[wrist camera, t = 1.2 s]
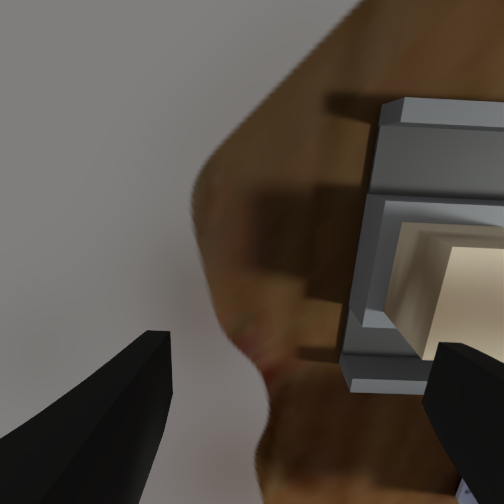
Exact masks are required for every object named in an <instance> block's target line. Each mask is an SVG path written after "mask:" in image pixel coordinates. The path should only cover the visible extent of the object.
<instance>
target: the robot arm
mask: <svg viewBox="0 0 504 504" xmlns="http://www.w3.org/2000/svg"><path fill="white" fill-rule="evenodd" d="M172 395H173V388H172V363H171V338H170V331H150V330H147V331H146V332H144V333H143V334H142V335H140V336H139V337H138V338H137V339H135V340H134V341H133V342H132V343H131V344H129V345H128V346H127V347H126V348H125V349H123V350H122V351H121V352H120V353H118V354H117V355H116V356H115V357H113V358H112V359H111V360H110V361H108V362H107V363H106V364H105V365H103V366H102V367H101V368H100V369H98V370H97V371H96V372H94V373H93V374H92V375H91V376H89V377H88V378H87V379H86V380H84V381H83V382H81V383H80V384H79V385H77V386H76V387H74V388H73V389H72V390H70V391H69V392H68V393H66V394H65V395H63V396H62V397H61V398H59V399H58V400H57V401H55V402H54V403H52V404H51V405H50V406H48V407H47V408H45V409H44V410H43V411H41V412H40V413H38V414H37V415H36V416H34V417H33V418H31V419H30V420H28V421H27V422H25V423H24V424H22V425H21V426H19V427H18V428H16V429H15V430H13V431H12V432H10V433H9V434H7V435H5V436H4V437H2V438H0V504H139V501H140V498H141V495H142V492H143V489H144V487H145V484H146V481H147V478H148V476H149V473H150V470H151V467H152V464H153V461H154V459H155V456H156V453H157V450H158V447H159V444H160V441H161V439H162V436H163V432H164V429H165V424H166V420H167V416H168V412H169V408H170V404H171V399H172ZM422 404H423V406H424V409H425V411H426V413H427V415H428V418H429V420H430V422H431V424H432V426H433V428H434V430H435V432H436V435H437V437H438V439H439V441H440V442H441V444H442V446H443V447H444V449H445V451H446V453H447V454H448V456H449V457H450V459H451V461H452V462H453V464H454V466H455V467H456V469H457V470H458V472H459V474H460V475H461V477H462V480H461V482H460V485H459V488H458V490H457V493H456V496H455V498H456V499H457V501H458V503H459V504H504V363H503V362H501V361H499V360H497V359H495V358H493V357H491V356H489V355H487V354H485V353H483V352H481V351H479V350H477V349H475V348H472V347H470V346H468V345H466V344H463V343H456V342H439V343H438V346H437V350H436V353H435V357H434V360H433V364H432V367H431V371H430V374H429V378H428V381H427V385H426V388H425V392H424V395H423V399H422Z"/></svg>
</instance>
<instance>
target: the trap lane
mask: <svg viewBox="0 0 504 504" xmlns="http://www.w3.org/2000/svg"><path fill="white" fill-rule="evenodd" d="M402 222H412V223H434V224H456V225H478V226H500V227H504V102H487V101H468V100H449V99H431V98H412V97H404V98H401V99H398V100H395V101H392V102H389V103H385V104H382V106H381V112H380V118H379V124H378V130H377V136H376V142H375V148H374V154H373V160H372V167H371V173H370V179H369V185H368V191H367V197H366V203H365V209H364V215H363V221H362V227H361V233H360V239H359V245H358V251H357V257H356V263H355V269H354V275H353V281H352V287H351V293H350V300H349V306H348V312H347V318H346V324H345V330H344V336H343V342H342V348H341V354H340V360H339V366H340V369H341V371H342V374H343V376H344V379H345V381H346V384H347V386H348V388H349V391H350V392H357V393H386V394H415V395H424V392H425V388H426V385H427V381H428V378H429V374H430V371H431V367H432V364H433V360H422V359H421V358H420V357H419V355H418V354H417V353H416V352H415V350H414V349H413V348H412V347H411V345H410V344H409V343H408V342H407V341H406V339H405V338H404V337H403V336H402V334H401V333H400V332H399V331H398V329H397V328H396V327H395V326H394V324H393V323H392V322H391V321H390V320H389V318H388V317H387V316H386V315H385V313H384V312H383V311H384V306H385V302H386V297H387V292H388V287H389V282H390V278H391V273H392V268H393V263H394V258H395V253H396V249H397V244H398V239H399V234H400V229H401V225H402Z"/></svg>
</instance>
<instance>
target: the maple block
mask: <svg viewBox="0 0 504 504" xmlns="http://www.w3.org/2000/svg"><path fill="white" fill-rule="evenodd" d="M383 312H384V313H385V315H386V316H387V317H388V318H389V320H390V321H391V322H392V323H393V324H394V326H395V327H396V328H397V329H398V331H399V332H400V333H401V334H402V336H403V337H404V338H405V339H406V341H407V342H408V343H409V344H410V345H411V347H412V348H413V349H414V350H415V352H416V353H417V354H418V355H419V357H420V358H421V359H422V360H434V357H435V353H436V350H437V346H438V343H439V342H456V343H463V344H466V345H468V346H470V347H472V348H475V349H477V350H479V351H481V352H483V353H485V354H487V355H489V356H491V357H493V358H495V359H497V360H499V361H501V362H503V363H504V227H500V226H478V225H456V224H434V223H412V222H402V225H401V229H400V234H399V239H398V244H397V249H396V253H395V258H394V263H393V268H392V273H391V278H390V282H389V287H388V292H387V297H386V302H385V306H384V311H383Z"/></svg>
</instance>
